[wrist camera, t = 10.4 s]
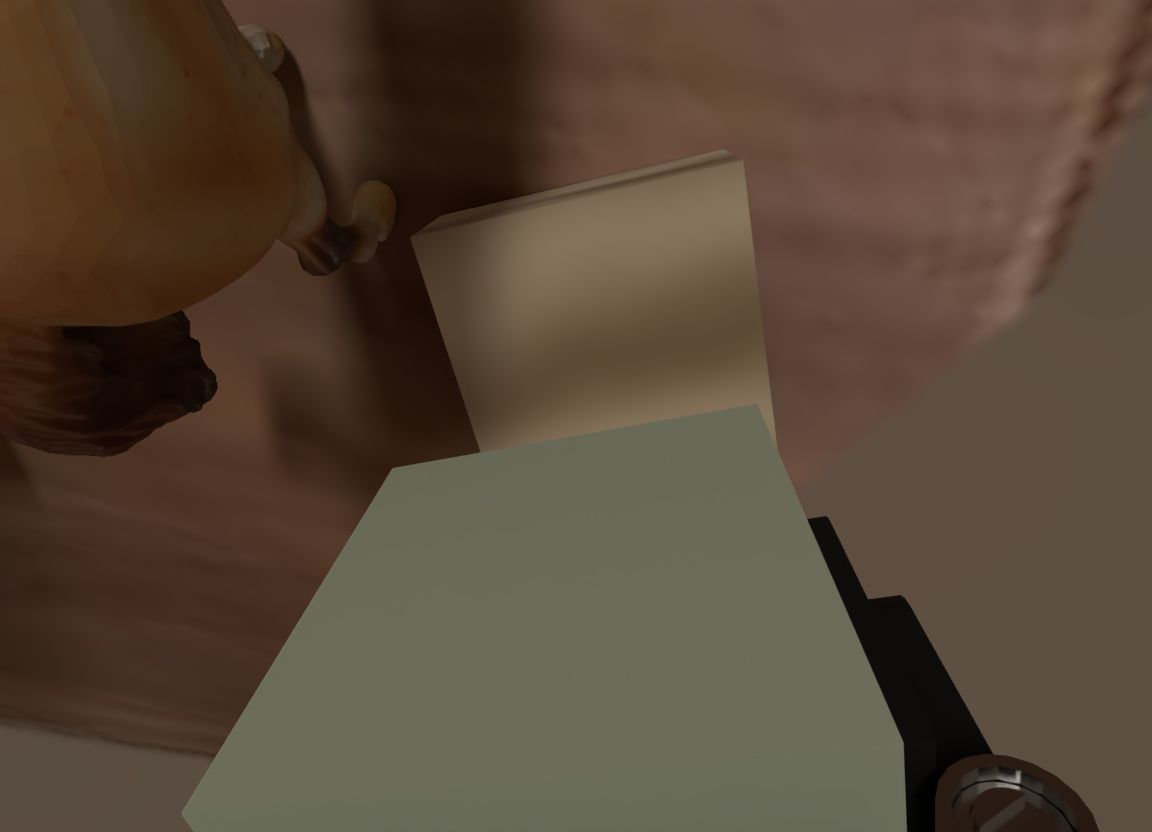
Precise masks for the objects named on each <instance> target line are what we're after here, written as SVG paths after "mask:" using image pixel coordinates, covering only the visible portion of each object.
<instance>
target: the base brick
mask: <svg viewBox="0 0 1152 832" xmlns="http://www.w3.org/2000/svg"><path fill="white" fill-rule="evenodd" d="M410 239H411V242H412V245H413V248H414V251H415V255H416V258H417V261H418V264H419V267H420V270H421V273H422V276H423V279H424V282H425V285H426V288H427V291H428V294H429V297H430V300H431V303H432V306H433V309H434V312H435V315H436V318H437V322H438V325H439V328H440V331H441V334H442V337H443V340H444V343H445V346H446V349H447V352H448V355H449V358H450V361H451V364H452V367H453V370H454V373H455V376H456V379H457V382H458V385H459V389H460V392H461V395H462V398H463V401H464V404H465V407H466V410H467V413H468V416H469V419H470V422H471V425H472V428H473V431H474V434H475V437H476V440H477V443H478V446H479V449H480V452H487V451H492V450H498V449H504V448H509V447H515V446H521V445H527V444H532V443H538V442H544V441H549V440H555V439H561V438H566V437H572V436H578V435H583V434H589V433H595V432H600V431H606V430H612V429H617V428H623V427H629V426H634V425H640V424H646V423H651V422H657V421H663V420H668V419H674V418H680V417H685V416H691V415H697V414H702V413H708V412H714V411H719V410H725V409H731V408H736V407H742V406H748V405H753V404H757V405H758V407H759V409H760V412H761V414H762V416H763V419H764V421H765V423H766V426H767V428H768V430H769V432H770V435H771V437H772V439H773V442H774V444H775V446H776V449H777V442H776V434H775V425H774V417H773V408H772V400H771V391H770V383H769V375H768V366H767V358H766V349H765V341H764V332H763V324H762V315H761V307H760V298H759V290H758V282H757V273H756V265H755V256H754V248H753V239H752V231H751V222H750V214H749V205H748V197H747V189H746V180H745V172H744V163H743V160H742V159H740V158H738V157H737V156H735V155H733V154H731V153H729V152H728V151H726V150H724V149H721V150H717V151H713V152H709V153H704V154H700V155H696V156H692V157H687V158H683V159H679V160H675V161H670V162H666V163H662V164H658V165H654V166H649V167H645V168H641V169H637V170H632V171H628V172H624V173H620V174H615V175H611V176H607V177H603V178H598V179H594V180H590V181H586V182H581V183H577V184H573V185H569V186H565V187H560V188H556V189H552V190H548V191H543V192H539V193H535V194H531V195H526V196H522V197H518V198H514V199H509V200H505V201H501V202H497V203H492V204H488V205H484V206H480V207H476V208H471V209H467V210H463V211H459V212H454V213H450V214H446V215H442V216H440V217H438V218H437V219H436V220H434V221H433V222H431V223H430V224H429V225H427V226H426V227H424V228H423V229H421V230H420V231H419V232H417V233H416V234H414V235H413V236H412V237H410Z"/></svg>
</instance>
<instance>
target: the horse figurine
mask: <svg viewBox="0 0 1152 832" xmlns="http://www.w3.org/2000/svg"><path fill="white" fill-rule="evenodd" d="M284 57H285V45H284V43H283V41H282V40H281V39H280V37H279V36H278V35H276V34H275V33H273V32H271V31H269V30H267V29H263V28H260V27H258V26H256V25H253V24H250V25H245V26H240V27H237V26H236V24H235V23H234V21H233V19H232V17H231V16H230V14H229V12H228V11H227V9H226V7H225V6H224V4H223V2H222V1H221V0H0V434H2V435H4V436H6V437H8V438H10V439H12V440H13V441H15V442H18V443H21V444H24V445H27V446H30V447H33V448H36V449H39V450H42V451H45V452H48V453H56V454H65V455H90V456H100V457H106V456H114V455H117V454H120V453H123V452H126V451H127V450H128V449H129V448H131V447H132V446H133V445H134V444H136V443H137V442H139V441H141V440H143V439H144V438H146V437H148V436H149V435H150V434H151V433H152V432H153V431H154V430H155V429H157V428H161V427H162V426H163V425H165V424H166V423H169V422H173V421H175V420H177V419H179V418H180V417H182V416H185V415H186V414H188V413H189V412H192V413H194V412H197V411H199V410H201V408H202V406H203V404H205V403H207V402H208V401H210V400H211V399H212V398H213V396H214V395H215V393H216V391H217V382H216V376H215V374H214V373H213V371H212V370H211V369H209V368H208V367H207V365H206V364H205V362H204V361H203V359H202V357H201V351H200V343H199V342H198V340H195V339H193V338H191V337H190V321H189V320H188V318H187V317H186V316H185V314H184V313H183V311H182V310H183V309H186V308H188V307H190V306H192V305H194V304H196V303H198V302H200V301H202V300H204V299H206V298H207V297H209V296H211V295H213V294H215V293H216V292H218V291H220V290H221V289H223V288H224V287H226V286H227V285H229V284H231V283H232V282H234V281H235V280H237V279H239V278H240V277H241V276H242V275H244V274H245V273H246V272H247V271H248V270H250V269H251V268H252V267H253V266H254V265H256V264H257V263H258V262H259V261H260V260H261V259H262V258H263V256H264V255H265V254H266V253H267V252H268V250H269V249H270V248H271V247H272V245H273V243H274V242H275V240H276V239H278V240H280V241H281V242H283V243H284V244H286V245H287V246H289V247H291V248H293V249H294V250H295V251H296V252H297V253H298V258H299V261H300V264H301V266H302V269H303V270H305V271H306V272H308V273H309V274H311V275H313V276H325V275H329V274H330V273H331V272H332V271H335V270H337V269H338V268H339V266H340V265H341V264H342V263H343V262H348V261H356V262H358V263H364V262H366V261H368V260H369V259H370V258H371V257H372V256H373V255H374V253H375V251H376V249H377V246H378V241H385V240H386V239H387V238H388V236H389V234H390V232H391V230H392V227H393V224H394V219H395V214H396V209H397V202H396V199H395V195H394V193H393V192H392V190H391V188H390V187H389V186H388V185H386V184H384V183H383V182H381V181H378V180H370V181H366V182H364V183H362V184H361V185H360V186H359V188H358V189H357V191H356V193H355V195H354V198H353V208H352V224H351V225H349V226H347V227H344V228H342V227H339V226H338V225H337V224H336V223H335V222H333V221H332V220H331V219H330V218H329V217H328V204H327V198H326V194H325V191H324V188H323V185H322V182H321V179H320V176H319V173H318V172H317V170H316V168H315V166H314V164H313V162H312V160H311V159H310V158H309V156H308V155H307V153H306V152H305V151H304V150H303V148H302V147H301V146H300V144H299V143H298V142H297V141H296V139H295V138H294V136H293V135H292V133H291V131H290V117H289V105H288V100H287V96H286V94H285V92H284V90H283V88H282V86H281V84H280V82H279V80H278V79H277V78H276V77H275V76H274V75H273V74H272V73H273V72H275V71H276V70H277V69H278V68H279V67H280V65H281V64H282V63H283V60H284Z"/></svg>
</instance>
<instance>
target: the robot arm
mask: <svg viewBox="0 0 1152 832" xmlns="http://www.w3.org/2000/svg"><path fill="white" fill-rule="evenodd" d="M807 520H808V523H809V525H810V527H811V530H812V532H813V534H814V537H815V539H816V541H817V544H818V546H819V548H820V551H821V553H822V555H823V557H824V560H825V562H826V564H827V567H828V569H829V571H830V574H831V576H832V578H833V581H834V583H835V585H836V588H837V590H838V592H839V594H840V597H841V599H842V601H843V604H844V606H845V608H846V611H847V613H848V615H849V618H850V620H851V622H852V625H853V627H854V629H855V632H856V634H857V636H858V638H859V641H860V643H861V645H862V648H863V650H864V652H865V655H866V657H867V659H868V662H869V664H870V666H871V669H872V671H873V673H874V675H875V678H876V680H877V682H878V685H879V687H880V689H881V692H882V694H883V696H884V699H885V701H886V703H887V706H888V708H889V710H890V713H891V715H892V717H893V719H894V722H895V724H896V726H897V729H898V731H899V733H900V736H901V738H902V740H903V743H904V769H905V795H906V822H907V832H1099V829H1098V826H1097V824H1096V822H1095V819H1094V816H1093V814H1092V812H1091V811H1090V810H1089V808H1088V807H1087V806H1086V805H1085V803H1084V802H1083V801H1082V799H1081V798H1080V797H1079V795H1077V793H1076V792H1075V791H1074V790H1072V789H1071V788H1070V787H1069V786H1068V785H1066V784H1065V783H1064V782H1063V781H1061V780H1060V779H1059V778H1058V777H1057V776H1055V775H1053V774H1051V773H1050V772H1048V771H1046V770H1044V769H1042V768H1040V767H1038V766H1037V765H1035V764H1033V763H1030V762H1027V761H1023V760H1020V759H1017V758H1014V757H1010V756H1004V755H993V753H992V751H991V749H990V748H989V746H988V744H987V742H986V740H985V739H984V737H983V735H982V734H981V732H980V730H979V728H978V726H977V725H976V723H975V721H974V719H973V717H972V716H971V714H970V712H969V710H968V708H967V707H966V705H965V703H964V701H963V699H962V698H961V696H960V694H959V692H958V691H957V689H956V687H955V685H954V683H953V682H952V680H951V678H950V676H949V674H948V673H947V671H946V669H945V667H944V666H943V664H942V662H941V660H940V659H939V657H938V655H937V653H936V651H935V650H934V648H933V646H932V644H931V642H930V641H929V639H928V637H927V635H926V633H925V632H924V630H923V628H922V626H921V625H920V623H919V621H918V619H917V617H916V616H915V614H914V612H913V610H912V608H911V607H910V605H909V604H908V602H907V601H906V599H905V598H903V597H902V596H901V595H898V596H891V597H883V598H875V599H868V598H867V596H866V594H865V592H864V591H863V588H862V586H861V584H860V582H859V580H858V578H857V576H856V574H855V571H854V570H853V567H852V565H851V563H850V561H849V559H848V557H847V555H846V553H845V551H844V549H843V547H842V545H841V543H840V541H839V539H838V537H837V535H836V532H835V530H834V528H833V526H832V524H831V522H830V520H829V518H828V517H826V516H824V517H817V518H811V519H807Z"/></svg>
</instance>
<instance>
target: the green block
mask: <svg viewBox="0 0 1152 832" xmlns="http://www.w3.org/2000/svg"><path fill="white" fill-rule="evenodd" d="M181 815H182V816H183V818H184V819H185V820H186V822H187V823H188V825H189V826H190V827H191V829H192V830H193V832H907V822H906V795H905V769H904V743H903V740H902V738H901V736H900V733H899V731H898V729H897V726H896V724H895V722H894V719H893V717H892V715H891V713H890V710H889V708H888V706H887V703H886V701H885V699H884V696H883V694H882V692H881V689H880V687H879V685H878V682H877V680H876V678H875V675H874V673H873V671H872V669H871V666H870V664H869V662H868V659H867V657H866V655H865V652H864V650H863V648H862V645H861V643H860V641H859V638H858V636H857V634H856V632H855V629H854V627H853V625H852V622H851V620H850V618H849V615H848V613H847V611H846V608H845V606H844V604H843V601H842V599H841V597H840V594H839V592H838V590H837V588H836V585H835V583H834V581H833V578H832V576H831V574H830V571H829V569H828V567H827V564H826V562H825V560H824V557H823V555H822V553H821V551H820V548H819V546H818V544H817V541H816V539H815V537H814V534H813V532H812V530H811V527H810V525H809V523H808V520H807V518H806V516H805V514H804V511H803V509H802V507H801V504H800V502H799V500H798V497H797V495H796V493H795V490H794V488H793V486H792V483H791V481H790V479H789V476H788V474H787V472H786V470H785V467H784V465H783V463H782V460H781V458H780V456H779V453H778V451H777V449H776V446H775V444H774V442H773V439H772V437H771V435H770V432H769V430H768V428H767V426H766V423H765V421H764V419H763V416H762V414H761V412H760V409H759V407H758V405H757V404H753V405H748V406H742V407H736V408H731V409H725V410H719V411H714V412H708V413H702V414H697V415H691V416H685V417H680V418H674V419H668V420H663V421H657V422H651V423H646V424H640V425H634V426H629V427H623V428H617V429H612V430H606V431H600V432H595V433H589V434H583V435H578V436H572V437H566V438H561V439H555V440H549V441H544V442H538V443H532V444H527V445H521V446H515V447H509V448H504V449H498V450H492V451H487V452H481V453H475V454H470V455H464V456H458V457H453V458H447V459H441V460H436V461H430V462H424V463H419V464H413V465H407V466H402V467H396V468H392V470H391V471H390V473H389V475H388V476H387V478H386V480H385V481H384V483H383V484H382V486H381V488H380V489H379V491H378V493H377V494H376V496H375V498H374V499H373V501H372V502H371V504H370V506H369V507H368V509H367V511H366V512H365V514H364V515H363V517H362V519H361V520H360V522H359V524H358V525H357V527H356V529H355V530H354V532H353V533H352V535H351V537H350V538H349V540H348V542H347V543H346V545H345V546H344V548H343V550H342V551H341V553H340V555H339V556H338V558H337V560H336V561H335V563H334V564H333V566H332V568H331V569H330V571H329V573H328V574H327V576H326V578H325V579H324V581H323V582H322V584H321V586H320V587H319V589H318V591H317V592H316V594H315V595H314V597H313V599H312V600H311V602H310V604H309V605H308V607H307V609H306V610H305V612H304V613H303V615H302V617H301V618H300V620H299V622H298V623H297V625H296V626H295V628H294V630H293V631H292V633H291V635H290V636H289V638H288V640H287V641H286V643H285V644H284V646H283V648H282V649H281V651H280V653H279V654H278V656H277V657H276V659H275V661H274V662H273V664H272V666H271V667H270V669H269V671H268V672H267V674H266V675H265V677H264V679H263V680H262V682H261V684H260V685H259V687H258V689H257V690H256V692H255V693H254V695H253V697H252V698H251V700H250V702H249V703H248V705H247V706H246V708H245V710H244V711H243V713H242V715H241V716H240V718H239V720H238V721H237V723H236V724H235V726H234V728H233V729H232V731H231V733H230V734H229V736H228V737H227V739H226V741H225V742H224V744H223V746H222V747H221V749H220V751H219V752H218V754H217V755H216V757H215V759H214V760H213V762H212V764H211V765H210V767H209V769H208V770H207V772H206V773H205V775H204V777H203V778H202V780H201V782H200V783H199V785H198V786H197V788H196V790H195V791H194V793H193V795H192V796H191V798H190V800H189V801H188V803H187V805H186V806H185V808H184V810H183V811H182V813H181Z"/></svg>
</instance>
